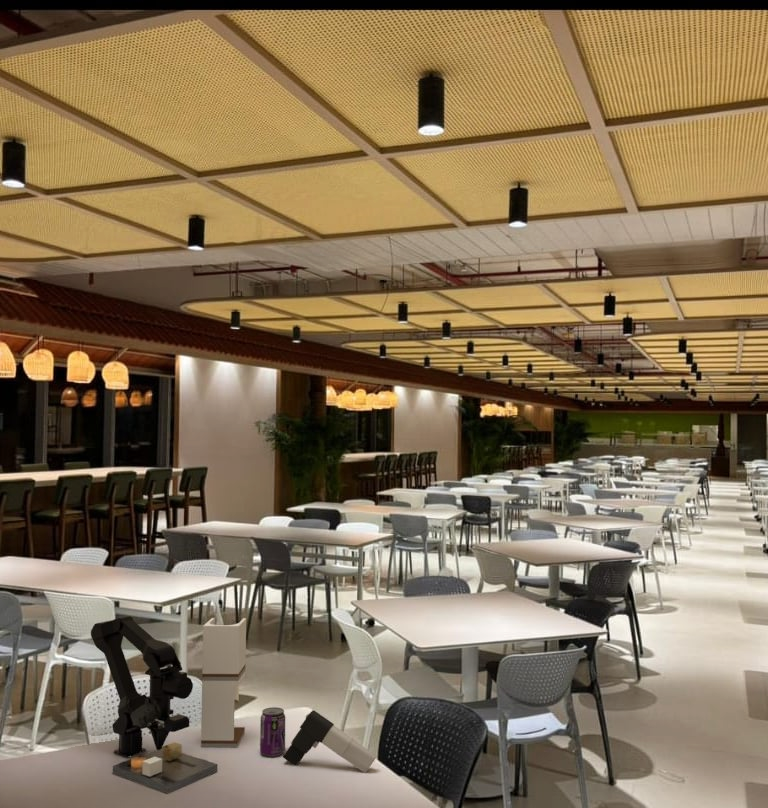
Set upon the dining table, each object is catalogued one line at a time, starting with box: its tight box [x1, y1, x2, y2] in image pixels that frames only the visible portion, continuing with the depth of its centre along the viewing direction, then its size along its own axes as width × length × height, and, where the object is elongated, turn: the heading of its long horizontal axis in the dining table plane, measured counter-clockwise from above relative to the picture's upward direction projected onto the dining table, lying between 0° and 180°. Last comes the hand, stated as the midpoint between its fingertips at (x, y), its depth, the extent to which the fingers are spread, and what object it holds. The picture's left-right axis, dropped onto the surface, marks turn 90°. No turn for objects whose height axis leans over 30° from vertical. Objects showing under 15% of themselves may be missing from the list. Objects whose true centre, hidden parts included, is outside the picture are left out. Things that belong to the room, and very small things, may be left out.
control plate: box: [112, 746, 218, 794], centre depth 213 cm, size 22×17×2 cm
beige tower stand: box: [200, 617, 247, 749], centre depth 238 cm, size 11×11×35 cm
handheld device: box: [282, 709, 377, 773], centre depth 217 cm, size 4×22×15 cm, turn 76°
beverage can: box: [259, 706, 286, 757], centre depth 227 cm, size 7×7×12 cm
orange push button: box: [131, 756, 147, 770], centre depth 213 cm, size 4×4×3 cm
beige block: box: [142, 757, 162, 777], centre depth 207 cm, size 3×4×3 cm
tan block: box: [162, 742, 183, 761], centre depth 217 cm, size 3×4×3 cm
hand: (158, 749), depth 220 cm, fingers closed
